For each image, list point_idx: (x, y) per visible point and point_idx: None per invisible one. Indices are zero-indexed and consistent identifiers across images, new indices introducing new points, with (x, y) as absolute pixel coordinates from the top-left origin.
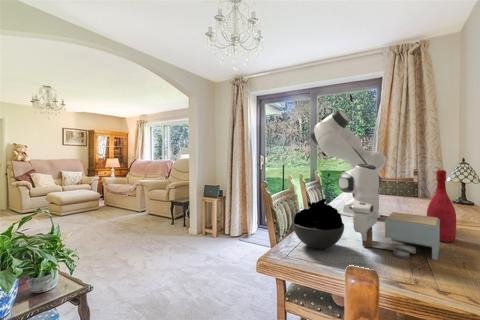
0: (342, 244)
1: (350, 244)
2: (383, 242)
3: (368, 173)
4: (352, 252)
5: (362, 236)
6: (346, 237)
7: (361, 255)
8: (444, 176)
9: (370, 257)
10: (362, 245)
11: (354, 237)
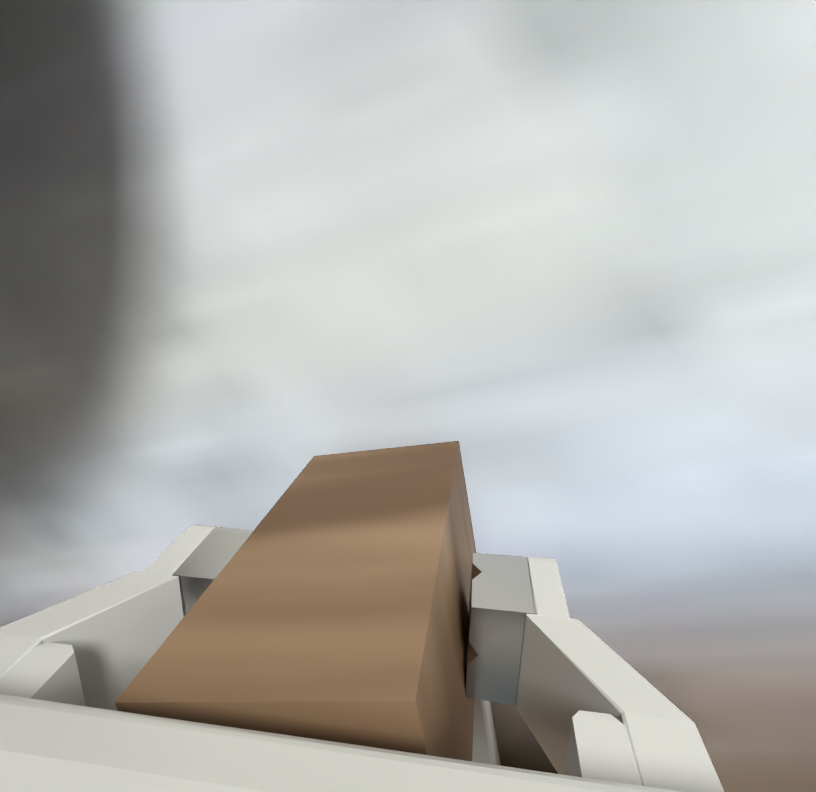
0: (225, 134)
1: (322, 257)
2: (480, 750)
3: None
4: (34, 374)
5: (154, 576)
6: (710, 43)
7: (34, 488)
8: None
9: (60, 577)
10: (314, 459)
11: (805, 202)
